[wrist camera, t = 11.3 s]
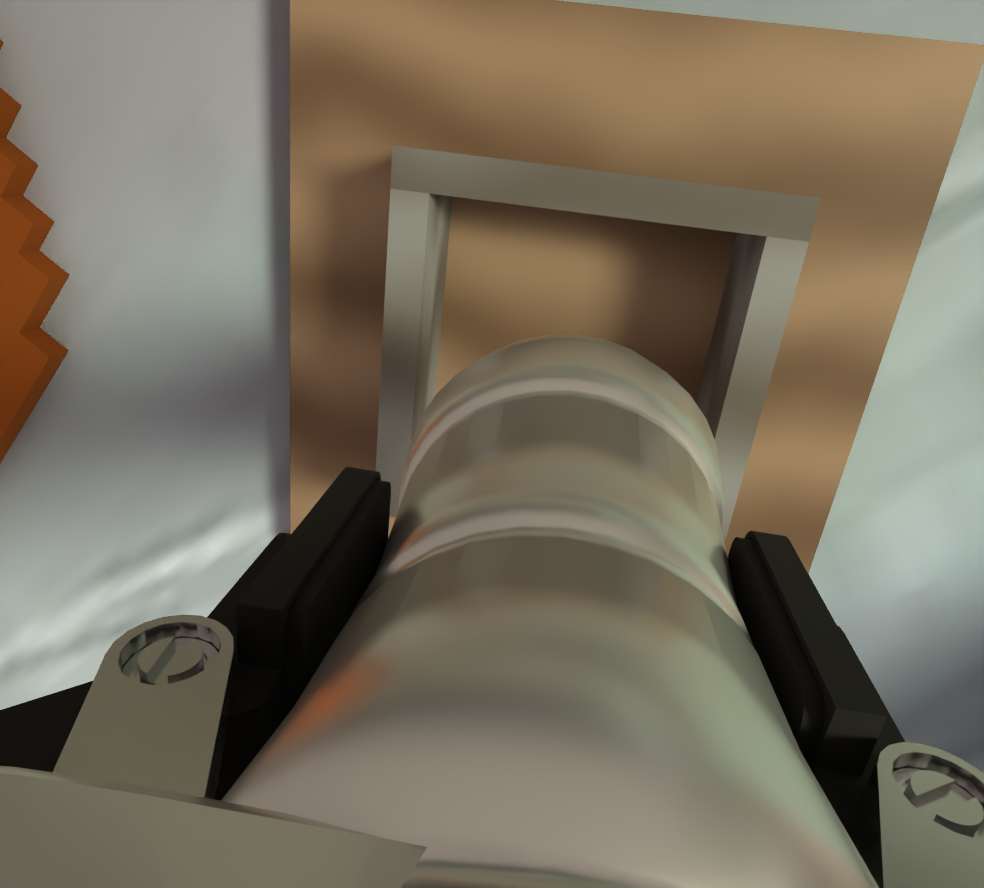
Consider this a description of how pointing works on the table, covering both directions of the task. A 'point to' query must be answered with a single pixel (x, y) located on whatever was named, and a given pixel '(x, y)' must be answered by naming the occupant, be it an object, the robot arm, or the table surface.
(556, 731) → the plastic bottle
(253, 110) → the table surface
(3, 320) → the pizza
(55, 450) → the table surface
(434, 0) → the collar board
